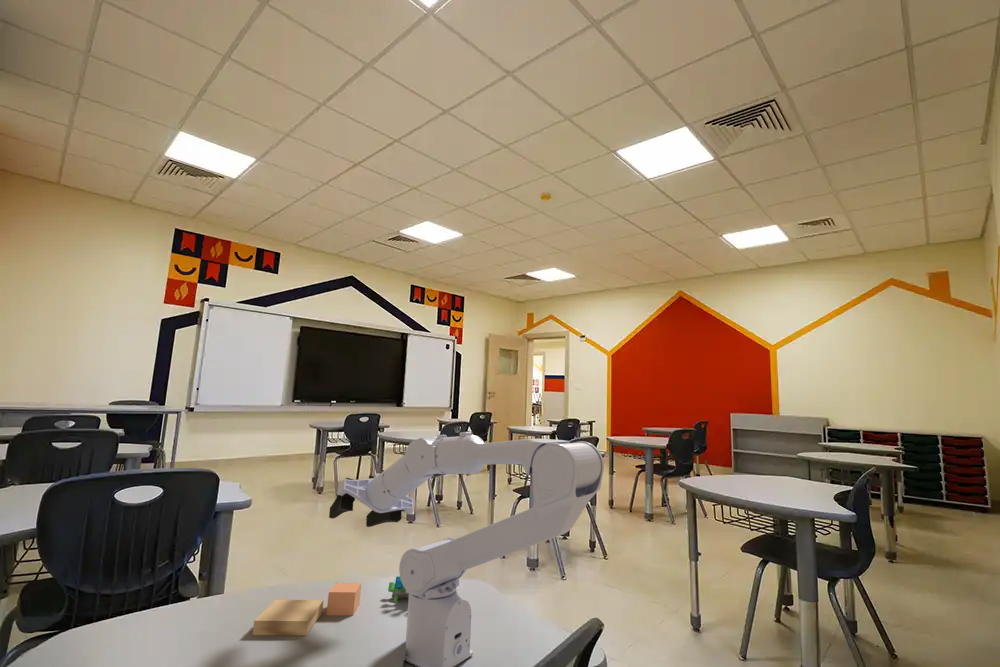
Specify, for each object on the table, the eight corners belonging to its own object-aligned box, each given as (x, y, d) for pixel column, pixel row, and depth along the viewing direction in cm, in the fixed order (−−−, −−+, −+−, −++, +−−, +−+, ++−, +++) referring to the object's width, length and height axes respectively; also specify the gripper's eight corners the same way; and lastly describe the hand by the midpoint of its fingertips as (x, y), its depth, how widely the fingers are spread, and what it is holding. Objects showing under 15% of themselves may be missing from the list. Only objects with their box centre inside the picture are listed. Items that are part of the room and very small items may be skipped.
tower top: (322, 612, 78) (323, 600, 79) (306, 635, 70) (307, 621, 71) (274, 612, 78) (275, 599, 78) (252, 634, 70) (254, 620, 70)
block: (358, 613, 82) (361, 582, 83) (352, 624, 78) (355, 592, 79) (333, 612, 82) (336, 582, 83) (325, 624, 77) (328, 592, 78)
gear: (452, 590, 90) (442, 563, 84) (450, 622, 85) (439, 596, 79) (397, 594, 90) (383, 568, 85) (392, 627, 86) (377, 601, 80)
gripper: (427, 472, 86) (383, 505, 91) (360, 450, 77) (316, 487, 82) (429, 508, 81) (382, 541, 86) (359, 488, 72) (311, 525, 77)
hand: (350, 517), depth 84 cm, fingers open, 7 cm apart
